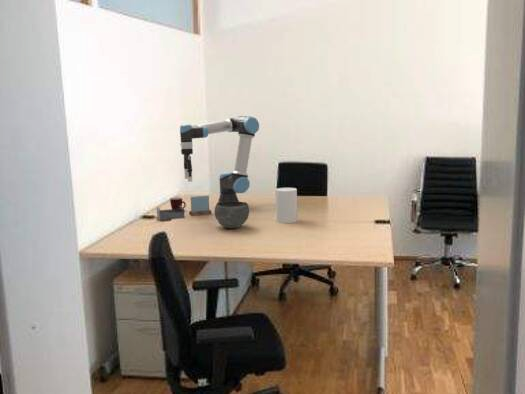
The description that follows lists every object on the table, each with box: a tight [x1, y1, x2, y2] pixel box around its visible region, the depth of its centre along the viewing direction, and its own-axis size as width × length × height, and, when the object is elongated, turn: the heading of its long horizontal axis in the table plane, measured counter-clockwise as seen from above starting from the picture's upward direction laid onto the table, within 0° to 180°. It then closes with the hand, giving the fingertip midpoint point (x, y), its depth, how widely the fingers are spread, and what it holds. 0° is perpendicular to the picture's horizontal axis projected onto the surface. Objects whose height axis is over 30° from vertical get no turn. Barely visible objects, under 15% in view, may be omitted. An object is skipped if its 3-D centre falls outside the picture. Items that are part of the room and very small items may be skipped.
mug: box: [169, 197, 187, 209], centre depth 399 cm, size 10×8×10 cm
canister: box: [274, 187, 298, 224], centre depth 365 cm, size 14×14×20 cm
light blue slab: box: [190, 194, 210, 212], centre depth 388 cm, size 12×2×12 cm, turn 108°
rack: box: [156, 205, 185, 222], centre depth 382 cm, size 16×13×7 cm
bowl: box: [214, 201, 250, 229], centre depth 351 cm, size 21×21×15 cm
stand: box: [188, 208, 212, 217], centre depth 389 cm, size 14×7×3 cm, turn 108°
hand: (188, 180), depth 387 cm, fingers open, 13 cm apart
